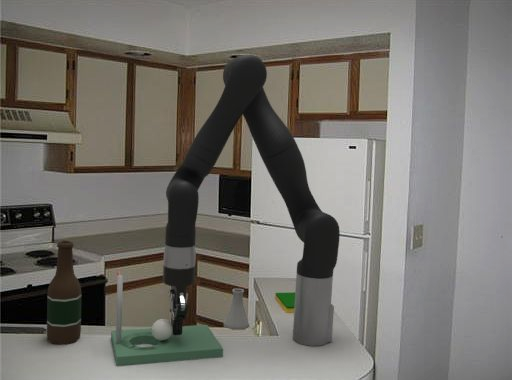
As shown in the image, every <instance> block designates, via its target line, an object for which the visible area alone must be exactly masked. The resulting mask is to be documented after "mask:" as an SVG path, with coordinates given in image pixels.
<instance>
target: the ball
mask: <svg viewBox="0 0 512 380" xmlns="http://www.w3.org/2000/svg"><path fill="white" fill-rule="evenodd" d="M151 328H152V335H153V336H154V338H156V339H157V340H161V341H163V340H167V339H168V338H169V337H170V336H171V335H172V332H173V326H172V323H171V321H170V320H168V319H165V318H161V319H157V320H156V321H154V322H153V324H152V326H151Z"/></svg>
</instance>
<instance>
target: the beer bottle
mask: <svg viewBox="0 0 512 380" xmlns="http://www.w3.org/2000/svg"><path fill="white" fill-rule="evenodd" d="M74 246H75V245H74V243H73V242H72V241H70V240H61V241H58V242H57V244H56V247H57V259H56V270H55V275H54V276H53V278H52V279H51V280H50V282H49V285H48V288H47V293H46V294H47V297H46V298H47V300H46V302H47V303H46V338H47V341H48V342H50V343H51V344H52V345H62V344H65V345H68V344H69V345H70V344H73V343H76V342H77V341H78V340H79V339H80V338H81V332H82V331H81V330H82V285H81V283H80V281H79V279H78V278H77V276H76V275H75V270H74V257H73V248H74Z"/></svg>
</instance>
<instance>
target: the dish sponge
mask: <svg viewBox="0 0 512 380" xmlns="http://www.w3.org/2000/svg"><path fill="white" fill-rule="evenodd" d="M274 300H275V301H276V303H278V304H279V306H280V307H281V308H282V310H283V311H284V313H286V314H294V307H295V291H293V292H291V291H290V292H275V295H274Z"/></svg>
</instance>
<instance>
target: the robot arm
mask: <svg viewBox="0 0 512 380" xmlns="http://www.w3.org/2000/svg"><path fill="white" fill-rule="evenodd" d="M267 76H268V71H267V68H266V65H265V63H264V62H263V60H262V59H261V58H260V57H258V56H256V55H253V54H243V55H238V56H237V57H235V58H232V59H231V60H229V61H228V62H227V63H226V64H225V66H224V69H223V72H222V81H223V84H224V88H223V91H222V93H221V96H220V98H219V99H218V101H217V104H216V105H215V107H214V108H213V110H212V112H211V113H210V114H209V116H208V118H207V119H206V120H205V122H204V123H203V125H202V126H201V128H200V129H199V130H198V132H197V133H196V136H195V137H194V138H193V141H192V142H191V144H190V146H189V148H188V151H187V152H186V154H185V156H184V159H183V161H182V163H181V164H180V166H179V167H178V169H177V170H176V172H175V173H174V174H173V176H172V178H171V179H170V181H169V182H168V185H167V186H166V187H167V188H166V189H165V190H166V191H165V195H166V196H165V197H166V200H167V223H166V226H165V237H164V238H165V242H164V250H163V251H164V252H163V265H162V267H163V271H162V282H163V283H164V285H166V286H170V287H171V288H170V289H169V290H167V291H168V298H169V299H168V300H169V301H168V302H169V312H170V315H171V316H170V317H171V320H172V321H171V322H172V323H171V324H172V326H173V332H172V333H173V335H181V334H182V326H183V321H185V320H186V319H187V314H188V310H189V307H190V305H189V302H188V300H189V292H188V291H187V287H188V286H192V285H194V283H195V281H196V261H197V257H196V256H197V255H196V253H197V252H196V231H197V230H196V222H197V216H198V209H199V189H200V187H201V185H202V183H203V181H204V179H205V178H206V177H207V176H209V175H210V173H211V172H212V171H213V168H214V167H215V165H216V163H217V162H218V159H219V158H220V156H221V154H222V151H223V150H224V148H225V146H226V144H227V142H228V140H229V138H230V136H231V134H232V132H233V131H234V129H235V127H236V125H237V124H238V122H239V120H240V119H241V117H242V116H243V118H244V120H245V122H246V125H247V127H248V129H249V132H250V134H251V137H252V139H253V141H254V144H255V146H256V149H257V151H258V153H259V156H260V159H261V160H262V162H263V164H264V166H265V168H266V170H267V172H268V174H269V175H270V177H271V180H272V182H273V183H274V185H275V187H276V189H277V191H278V192H279V194H280V196H281V197H282V199H283V201H284V204H285V206H286V208H287V211H288V213H289V218H290V219H291V222H292V226H293V228H294V231H295V233H296V236H297V237H298V238H299V240H300V241H301V242H302V243H303V250H302V258H301V259H300V260H299V261H298V262H297V264H296V275H295V276H296V277H295V291H294V292H295V307H294V313H293V324H292V325H293V326H292V328H293V329H292V340H293V341H295V342H296V343H298V344H301V345H305V346H310V347H311V346H312V347H313V346H314V347H316V346H323V345H326V344H327V343H331V342H333V341H332V340H333V330H334V328H333V327H334V326H333V325H334V313H335V311H334V310H335V305H333V303H332V295H333V280H334V271H335V270H334V269H335V268H336V265H337V263H338V256H339V246H340V245H339V244H340V235H341V234H340V226H339V223H338V221H337V219H336V218H334V217H333V216H332V215H330V214H329V213H326V212H324V211H323V210H322V209H321V207H320V206H319V204H318V203H317V202H316V199H315V198H314V196H313V193H312V192H311V189H310V186H309V182H308V177H307V169H306V164H305V160H304V158H303V155H302V152H301V150H300V148H299V146H298V143H297V142H296V140H295V137H294V136H293V133H292V132H291V131H290V129H289V128H288V127H287V125H286V124H285V122H284V121H283V120H282V119H281V118H280V117H279V115H278V113H277V112H276V111H275V109H274V108H273V107H272V105H271V103H270V100H269V98H268V96H267V94H266V91H265V88H264V85H265V83H266V82H267V78H268V77H267Z"/></svg>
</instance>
